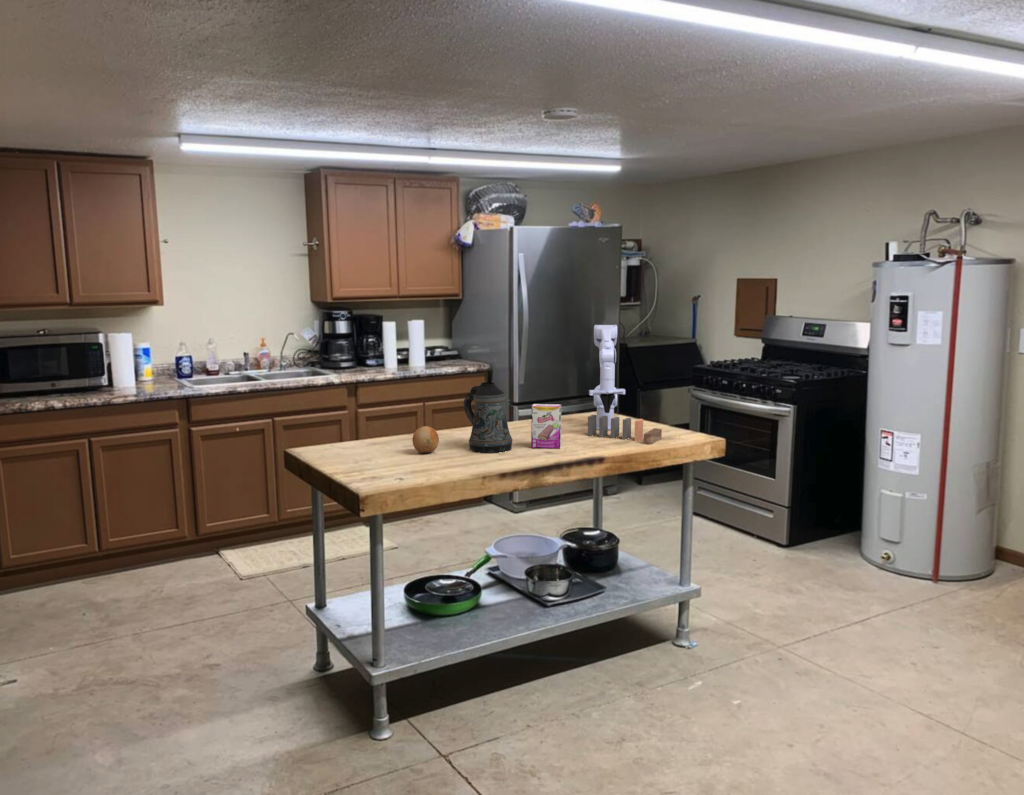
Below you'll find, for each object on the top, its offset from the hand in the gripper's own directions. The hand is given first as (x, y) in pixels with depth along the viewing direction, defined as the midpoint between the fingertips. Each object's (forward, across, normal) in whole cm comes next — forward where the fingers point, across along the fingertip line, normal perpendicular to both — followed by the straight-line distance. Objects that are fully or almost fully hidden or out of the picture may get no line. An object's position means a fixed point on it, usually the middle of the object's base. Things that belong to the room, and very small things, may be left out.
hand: (607, 412), depth 322 cm
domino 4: (+10, +6, -6) cm, 13 cm away
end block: (+10, +15, -13) cm, 22 cm away
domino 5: (+10, +10, -9) cm, 17 cm away
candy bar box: (+10, -28, -14) cm, 33 cm away
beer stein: (+10, -51, -11) cm, 53 cm away
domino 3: (+10, +3, -2) cm, 10 cm away
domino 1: (+10, -5, +4) cm, 12 cm away
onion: (+10, -74, -12) cm, 76 cm away
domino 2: (+10, -1, +1) cm, 10 cm away
